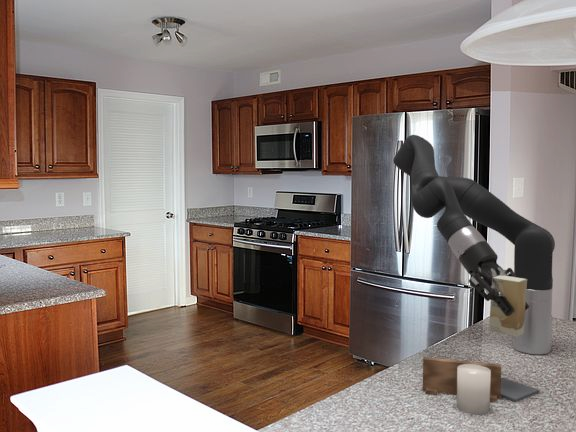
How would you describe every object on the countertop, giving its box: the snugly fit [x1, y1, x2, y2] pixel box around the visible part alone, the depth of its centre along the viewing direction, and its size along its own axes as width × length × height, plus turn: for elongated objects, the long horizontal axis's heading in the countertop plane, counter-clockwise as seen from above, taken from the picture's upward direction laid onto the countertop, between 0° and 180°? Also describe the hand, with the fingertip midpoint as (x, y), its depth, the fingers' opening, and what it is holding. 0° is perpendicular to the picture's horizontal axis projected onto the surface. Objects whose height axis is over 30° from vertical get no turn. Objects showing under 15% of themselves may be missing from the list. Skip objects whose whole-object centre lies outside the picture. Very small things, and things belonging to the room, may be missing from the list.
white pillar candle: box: [456, 364, 491, 416], centre depth 110 cm, size 6×6×8 cm
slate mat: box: [501, 376, 540, 403], centre depth 119 cm, size 9×9×1 cm
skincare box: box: [488, 275, 527, 338], centre depth 119 cm, size 6×4×12 cm
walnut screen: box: [422, 356, 502, 403], centre depth 118 cm, size 16×5×7 cm, turn 72°
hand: (518, 311), depth 117 cm, fingers closed on skincare box, 5 cm apart
